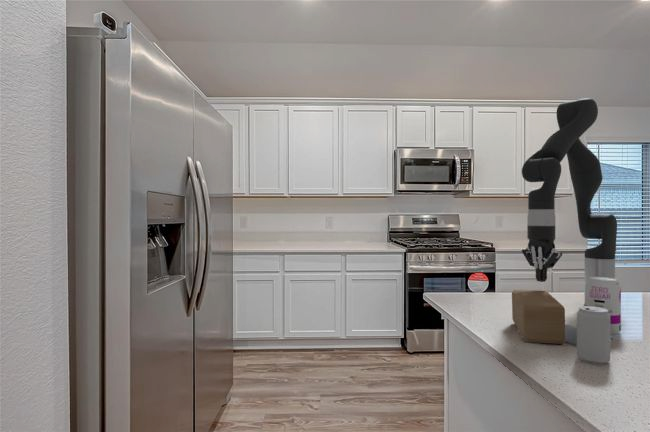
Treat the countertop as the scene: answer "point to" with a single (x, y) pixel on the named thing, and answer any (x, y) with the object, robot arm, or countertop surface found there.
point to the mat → (571, 335)
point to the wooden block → (538, 316)
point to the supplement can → (606, 299)
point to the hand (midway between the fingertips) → (541, 281)
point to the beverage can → (593, 335)
